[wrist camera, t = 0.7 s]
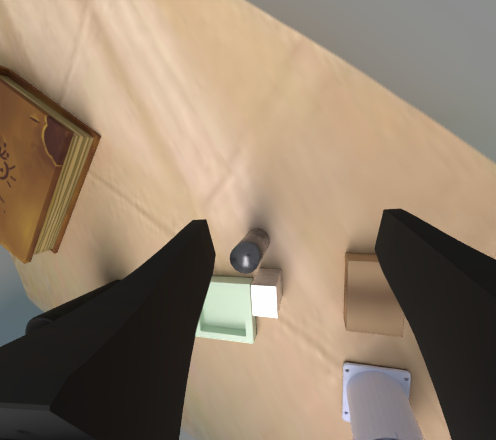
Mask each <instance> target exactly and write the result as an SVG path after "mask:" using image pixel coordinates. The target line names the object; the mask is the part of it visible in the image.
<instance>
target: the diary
mask: <svg viewBox="0 0 496 440" xmlns="http://www.w3.org/2000/svg"><path fill="white" fill-rule="evenodd" d="M100 138H101V136H100V135H99V134H97V133H96V132H94V131H93V130H92V129H90V128H89V127H88V126H86V125H85V124H84V123H82V122H81V121H79V120H78V119H77V118H75V117H74V116H73V115H71V114H70V113H69V112H67V111H66V110H64V109H63V108H62V107H60V106H59V105H58V104H56V103H55V102H54V101H52V100H51V99H50V98H48V97H47V96H45V95H44V94H43V93H41V92H40V91H39V90H37V89H36V88H35V87H33V86H32V85H30V84H29V83H28V82H26V81H25V80H24V79H22V78H21V77H20V76H18V75H17V74H15V73H14V72H13V71H11V70H10V69H8V68H5V67H3V66H0V244H1V245H2V246H4V247H5V248H6V249H7V250H8V251H9V252H11V253H12V254H13V255H14V256H16V257H17V258H18V259H19V260H20V261H22V262H23V263H24V264H25V263H28V262H31V259H32V256H33V255H34V254H37V253H41V252H44V251H47V250H51V251H52V252H53V253H57V252H58V249H59V246H60V244H61V241H62V238H63V236H64V233H65V230H66V228H67V225H68V223H69V220H70V217H71V215H72V212H73V209H74V207H75V204H76V201H77V199H78V196H79V193H80V191H81V188H82V186H83V183H84V180H85V178H86V175H87V172H88V170H89V167H90V164H91V162H92V159H93V156H94V154H95V151H96V149H97V146H98V143H99V141H100Z"/></svg>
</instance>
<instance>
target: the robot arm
mask: <svg viewBox="0 0 496 440" xmlns="http://www.w3.org/2000/svg"><path fill="white" fill-rule="evenodd" d="M375 252H376V255H377V258H378V261H379V264H380V267H381V269H382V272H383V274H384V276H385V278H386V280H387V282H388V284H389V286H390V288H391V290H392V291H393V293H394V295H395V297H396V299H397V301H398V303H399V305H400V307H401V309H402V311H403V313H404V315H405V316H406V318H407V320H408V322H409V324H410V327H411V329H412V331H413V333H414V335H415V338H416V340H417V343H418V345H419V348H420V350H421V353H422V355H423V358H424V361H425V363H426V366H427V369H428V371H429V374H430V377H431V380H432V382H433V385H434V388H435V391H436V393H437V396H438V399H439V402H440V405H441V408H442V411H443V414H444V417H445V420H446V423H447V426H448V429H449V432H450V436H451V439H452V440H496V260H495V259H493V258H491V257H489V256H487V255H485V254H483V253H481V252H479V251H477V250H475V249H473V248H471V247H470V246H468V245H466V244H464V243H462V242H460V241H458V240H456V239H455V238H453V237H451V236H449V235H447V234H446V233H444V232H442V231H440V230H439V229H437V228H435V227H433V226H432V225H430V224H428V223H426V222H425V221H423V220H421V219H419V218H418V217H416V216H414V215H412V214H410V213H409V212H407V211H405V210H403V209H385V210H384V211H383V215H382V219H381V224H380V228H379V232H378V236H377V241H376V245H375ZM215 256H216V254H215V250H214V246H213V243H212V239H211V235H210V232H209V228H208V224H207V220H206V219H205V220H192V221H191V222H190V223H189V224H188V225H187V226H185V227H184V228H183V229H182V230H181V231H180V232H179V233H178V234H177V235H176V236H175V237H174V238H172V239H171V240H170V241H169V242H168V243H167V244H166V245H165V246H164V247H163V248H162V249H160V250H159V251H158V252H157V253H156V254H154V255H153V256H152V257H151V258H150V259H148V260H147V261H146V262H145V263H144V264H143V265H141V266H140V267H139V268H137V269H136V270H135V271H134V272H132V273H131V274H130V275H128V276H127V277H125V278H124V279H122V280H121V281H120V282H118V283H117V284H115V285H114V286H112V287H111V288H109V289H108V290H106V291H104V292H103V293H101V294H100V295H98V296H96V297H95V298H93V299H92V300H90V301H88V302H87V303H85V304H84V305H82V306H80V307H78V308H77V309H75V310H73V311H71V312H69V313H68V314H66V315H64V316H62V317H60V318H58V319H56V320H55V321H53V322H51V323H49V324H47V325H45V326H43V327H41V328H39V329H37V330H35V331H33V332H31V333H29V334H27V335H25V336H22V337H20V338H18V339H16V340H14V341H12V342H10V343H8V344H6V345H3V346H2V347H0V440H179V435H180V427H181V419H182V412H183V405H184V398H185V391H186V385H187V379H188V373H189V367H190V361H191V355H192V350H193V345H194V340H195V335H196V330H197V326H198V322H199V319H200V315H201V312H202V309H203V305H204V302H205V299H206V295H207V292H208V289H209V285H210V282H211V278H212V275H213V269H214V263H215ZM346 369H349V370H346ZM406 377H407V378H406ZM410 382H411V374H410V373H409V371H406V370H399V369H392V368H385V367H377V366H370V365H363V364H355V363H348V362H346V363H344V364H343V397H342V418H343V420H344V421H347V422H350V423H351V429H352V436H353V440H425V439H424V437H423V435H422V432H421V430H420V427H419V425H418V422H417V420H416V418H415V415H414V413H413V410H412V408H411V406H410V403H409V393H410ZM345 411H347V412H345Z"/></svg>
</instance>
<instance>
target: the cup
mask: <svg viewBox="0 0 496 440" xmlns="http://www.w3.org/2000/svg"><path fill="white" fill-rule="evenodd" d="M120 281H121V280H115V281H113V282H111V283H109V284H106V285H104V286H102V287H100V288H98V289H95V290H93V291H91V292H89V293H87V294H84V295H82V296H80V297H78V298H76V299H73V300H71V301H69V302H67V303H65V304H62V305H60V306H58V307H56V308H54V309H51V310H49V311H47V312H45V313H43V314H41V315H38V316H36V317H34V318H32V319H31V320H30V321H29V322H28V324H27V327H26V335H27V334H29V333H31V332H33V331H35V330H37V329H39V328H41V327H43V326H45V325H47V324H49V323H51V322H53V321H55V320H56V319H58V318H60V317H62V316H64V315H66V314H68V313H69V312H71V311H73V310H75V309H77V308H78V307H80V306H82V305H84V304H85V303H87V302H88V301H90V300H92V299H93V298H95V297H96V296H98V295H100V294H101V293H103V292H104V291H106V290H108V289H109V288H111V287H112V286H114V285H115V284H117V283H118V282H120Z"/></svg>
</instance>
